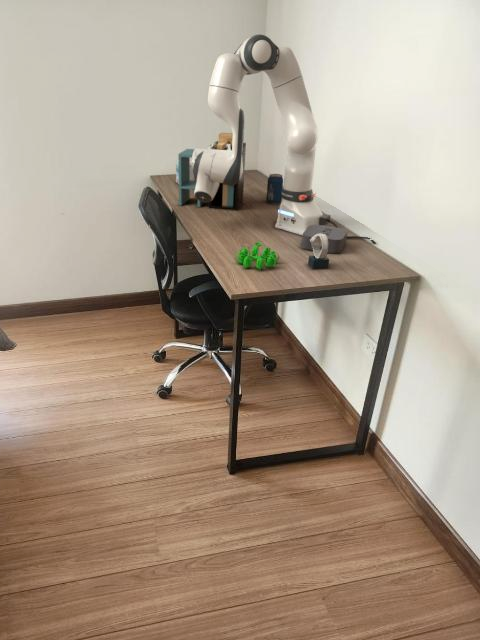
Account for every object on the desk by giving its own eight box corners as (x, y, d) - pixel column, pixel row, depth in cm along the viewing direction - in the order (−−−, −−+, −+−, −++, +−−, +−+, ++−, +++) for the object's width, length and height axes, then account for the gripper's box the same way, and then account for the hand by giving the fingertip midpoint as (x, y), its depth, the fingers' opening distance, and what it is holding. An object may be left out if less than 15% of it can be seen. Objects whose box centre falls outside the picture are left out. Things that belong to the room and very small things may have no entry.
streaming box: (339, 254, 192) (341, 240, 189) (299, 249, 196) (301, 235, 194) (346, 242, 203) (348, 228, 200) (308, 237, 207) (310, 224, 205)
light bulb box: (175, 182, 281) (175, 160, 275) (188, 181, 282) (188, 159, 276) (181, 187, 272) (181, 164, 266) (194, 186, 274) (194, 163, 268)
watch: (321, 261, 186) (325, 230, 180) (330, 270, 180) (334, 237, 174) (305, 262, 185) (309, 231, 179) (314, 271, 179) (318, 238, 173)
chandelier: (287, 262, 185) (289, 243, 181) (261, 275, 176) (263, 254, 172) (252, 252, 193) (253, 233, 190) (226, 264, 184) (226, 244, 180)
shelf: (236, 210, 238) (239, 147, 223) (208, 207, 241) (209, 145, 227) (242, 203, 246) (245, 142, 232) (215, 201, 250) (217, 141, 235)
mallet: (221, 143, 231) (221, 132, 229) (236, 144, 229) (237, 133, 227) (211, 149, 219) (211, 138, 217) (227, 150, 217) (228, 139, 215)
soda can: (280, 200, 251) (283, 173, 245) (281, 204, 246) (283, 177, 239) (266, 200, 252) (268, 173, 245) (266, 204, 246) (268, 176, 239)
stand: (199, 207, 242) (200, 155, 229) (179, 205, 244) (178, 153, 232) (207, 200, 251) (208, 150, 239) (187, 198, 254) (187, 148, 241)
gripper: (237, 164, 209) (245, 139, 215) (188, 160, 214) (197, 136, 220) (239, 177, 214) (246, 152, 220) (190, 173, 220) (199, 149, 225)
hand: (221, 144), depth 220 cm, fingers open, 5 cm apart
